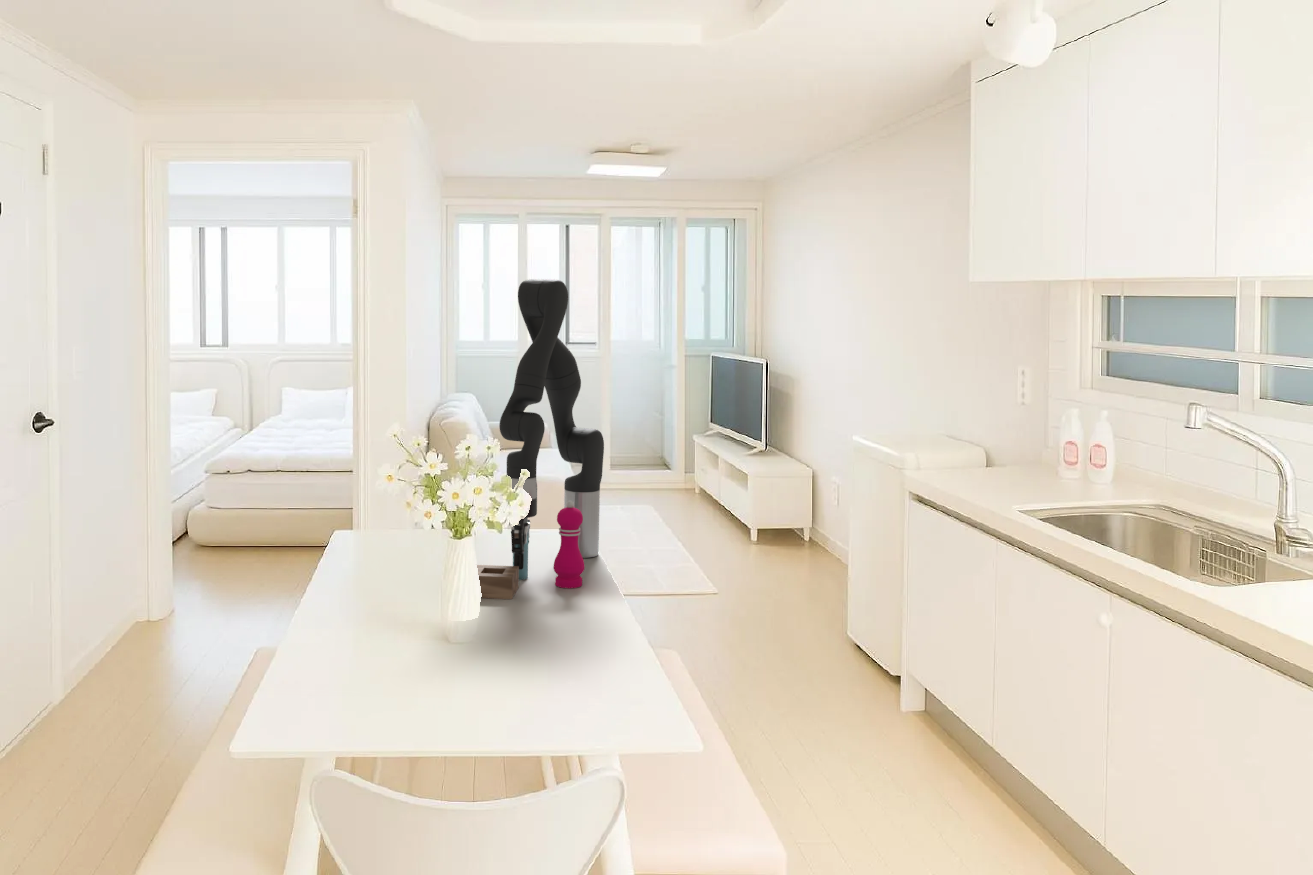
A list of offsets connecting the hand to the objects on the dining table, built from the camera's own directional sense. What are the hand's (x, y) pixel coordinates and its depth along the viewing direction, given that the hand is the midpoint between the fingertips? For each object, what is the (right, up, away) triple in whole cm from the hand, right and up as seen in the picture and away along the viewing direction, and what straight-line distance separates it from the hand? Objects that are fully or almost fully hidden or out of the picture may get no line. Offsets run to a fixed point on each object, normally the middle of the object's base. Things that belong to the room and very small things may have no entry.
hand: (520, 566), depth 261 cm
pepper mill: (+12, -4, -5) cm, 14 cm away
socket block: (-4, -4, -13) cm, 15 cm away
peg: (0, -3, 0) cm, 3 cm away
